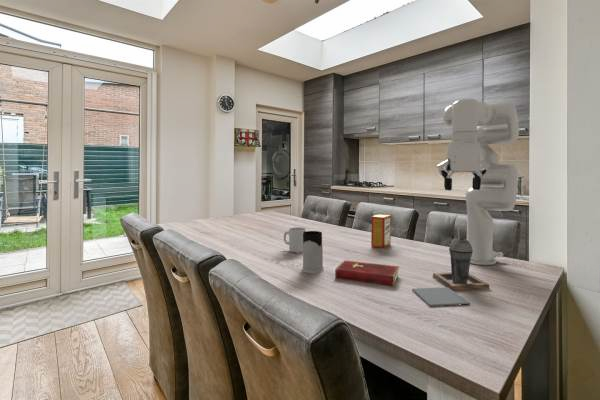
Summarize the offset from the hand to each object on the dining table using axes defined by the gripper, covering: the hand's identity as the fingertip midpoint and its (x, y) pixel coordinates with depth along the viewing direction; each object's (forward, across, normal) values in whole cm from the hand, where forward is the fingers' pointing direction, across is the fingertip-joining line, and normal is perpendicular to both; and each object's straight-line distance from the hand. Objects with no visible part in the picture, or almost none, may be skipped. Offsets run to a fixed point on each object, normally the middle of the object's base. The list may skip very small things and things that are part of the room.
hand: (462, 189), depth 104 cm
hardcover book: (+33, +30, -9) cm, 45 cm away
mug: (+32, +55, -50) cm, 81 cm away
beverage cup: (+32, 0, 0) cm, 33 cm away
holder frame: (+32, 0, 0) cm, 32 cm away
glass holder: (+32, +48, -22) cm, 62 cm away
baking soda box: (+32, +10, -54) cm, 64 cm away
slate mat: (+32, +13, +11) cm, 36 cm away
